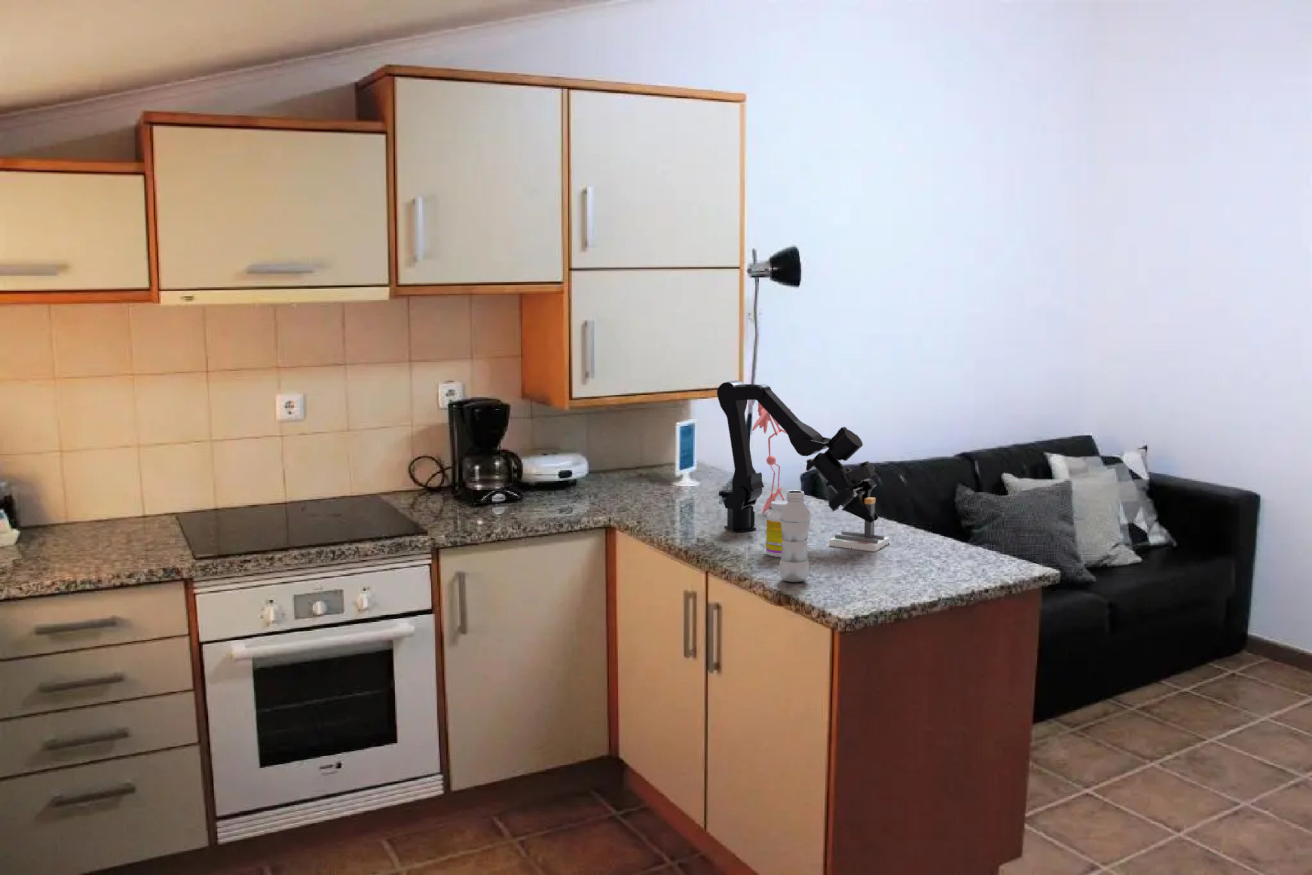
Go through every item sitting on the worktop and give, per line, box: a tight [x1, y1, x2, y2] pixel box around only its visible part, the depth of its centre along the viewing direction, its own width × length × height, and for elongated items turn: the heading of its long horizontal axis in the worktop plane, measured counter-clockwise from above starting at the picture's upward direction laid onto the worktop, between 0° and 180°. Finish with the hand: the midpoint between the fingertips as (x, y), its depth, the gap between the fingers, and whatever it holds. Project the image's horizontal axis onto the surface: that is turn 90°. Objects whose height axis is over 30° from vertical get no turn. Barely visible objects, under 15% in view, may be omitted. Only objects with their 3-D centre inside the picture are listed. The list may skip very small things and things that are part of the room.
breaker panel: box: [828, 530, 890, 552], centre depth 277 cm, size 12×10×2 cm
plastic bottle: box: [778, 490, 812, 583], centre depth 242 cm, size 6×7×20 cm
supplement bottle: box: [765, 500, 788, 558], centre depth 266 cm, size 7×7×13 cm
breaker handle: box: [863, 496, 877, 538], centre depth 275 cm, size 2×3×10 cm, turn 148°
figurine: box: [751, 401, 791, 515], centre depth 317 cm, size 15×26×35 cm, turn 162°
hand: (874, 520), depth 274 cm, fingers closed on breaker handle, 3 cm apart
